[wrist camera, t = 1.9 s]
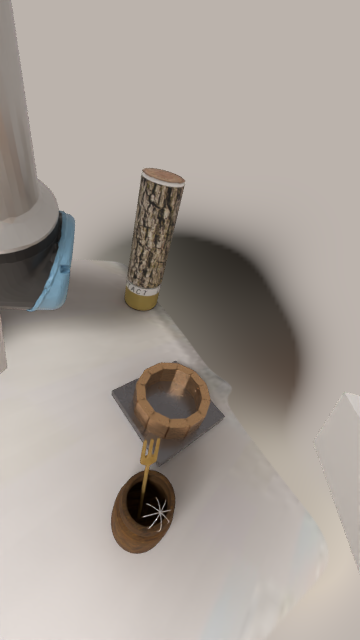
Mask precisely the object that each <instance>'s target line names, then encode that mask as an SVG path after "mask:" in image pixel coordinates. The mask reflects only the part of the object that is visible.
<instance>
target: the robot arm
mask: <svg viewBox="0 0 360 640" xmlns="http://www.w3.org/2000/svg"><path fill="white" fill-rule="evenodd" d="M74 231H75V220H74V218H73V217H72V216H71V215H70V214H66V213H65V212H64V211H59V209H58V204H57V201H56V198H55V196H54V194H53V193H52V191H51V190H50V189H49V188H48V187H47V186H46V185H45V184H44V183H43V182H41V181H40V180H39V179H37V174H36V166H35V159H34V152H33V146H32V139H31V132H30V125H29V118H28V112H27V105H26V98H25V91H24V85H23V78H22V71H21V64H20V58H19V51H18V45H17V37H16V30H15V24H14V17H13V10H12V3H11V0H0V309H18V310H27V311H35V310H55V309H58V308H60V307H61V306H62V305H63V304H64V302H65V300H66V297H67V291H68V285H69V277H70V267H71V260H72V253H73V243H74ZM6 368H7V361H6V354H5V346H4V338H3V331H2V323H1V316H0V374H1V373H2V372H3V371H4V370H5V369H6ZM313 444H314V446H315V449H316V452H317V455H318V458H319V461H320V463H321V466H322V469H323V472H324V475H325V478H326V480H327V483H328V486H329V489H330V492H331V494H332V497H333V500H334V503H335V506H336V508H337V511H338V514H339V517H340V520H341V523H342V525H343V528H344V531H345V533H346V537H347V539H348V542H349V545H350V548H351V551H352V554H353V556H354V559H355V562H356V564H357V567H358V570H359V573H360V395H356V394H351V393H347V392H344V393H343V394H342V396H341V397H340V399H339V401H338V402H337V404H336V406H335V407H334V409H333V410H332V412H331V414H330V415H329V417H328V418H327V420H326V422H325V423H324V425H323V427H322V428H321V430H320V431H319V433H318V435H317V436H316V438H315V439H314V441H313Z"/></svg>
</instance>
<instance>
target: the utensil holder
mask: <svg viewBox="0 0 360 640" xmlns="http://www.w3.org/2000/svg"><path fill="white" fill-rule="evenodd" d="M153 443H154V439H151V440H150V445H149V450H148V455H146V456H145V452H146V446H147V440H144V442H143V448H142V454H141V459H140V463H141V464H142V465H146V467H145V471H141V472H139V473H137V474H135V475H134V476H132V477H131V478H130V479H129V480H128V481H127V483H126V484H125V485H124V486H123V487H122V488H121V490H120V492H119V493H118V495H117V498H116V500H115V503H114V507H113V511H112V517H111V527H112V532H113V535H114V538H115V540H116V542H117V543H118V544H119V546H120V547H122V548H123V549H124V550H126V551H128V552H130V553H143V552H146V551H148V550H150V549H152V548H153V547H154V546H156V545H157V544H158V542H159V541H160V540H161V539H162V538H163V536H164V535H165V534H166V532H167V531H168V529H169V527H170V524H171V522H172V518H173V513H174V509H175V494H174V490H173V487H172V485H171V483H170V482H169V480H168V479H167V478H166V477H165V476H164V475H163V474H161V473H159V472H157V471H153V470H149V466H150V465H151V464H153V463H154V462H156V461H157V456H158V450H159V445H160V438H157V442H156V447H155V451H154V454H152V449H153Z"/></svg>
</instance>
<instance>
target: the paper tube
mask: <svg viewBox="0 0 360 640" xmlns="http://www.w3.org/2000/svg"><path fill="white" fill-rule="evenodd" d="M142 171H143V172H142V176H141V184H140V190H139V197H138V204H137V211H136V219H135V226H134V233H133V240H132V247H131V254H130V261H129V268H128V275H127V282H126V290H125V301H126V303H127V304H128V305H129V306H130V307H131V308H133V309H136V310H142V311H145V310H150V309H152V308H153V307H154V306H155V305H156V303H157V299H158V294H159V290H160V286H161V282H162V278H163V274H164V270H165V266H166V261H167V257H168V253H169V249H170V244H171V240H172V236H173V232H174V228H175V223H176V219H177V215H178V211H179V206H180V202H181V198H182V194H183V189H184V186H185V180H184V179H183V178H182V177H180V176H178V175H176V174H174V173H171V172H168V171H165V170H161V169H154V168H145V169H143V170H142Z"/></svg>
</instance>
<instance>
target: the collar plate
mask: <svg viewBox="0 0 360 640" xmlns="http://www.w3.org/2000/svg"><path fill="white" fill-rule="evenodd" d="M193 371H194V370H191V369H189V368H187V367H185V366H183V365H181V364H179V363H177V362H176V361H174V362H172V363H161V364H160V363H158V364H156V365H154V366H152V367H150V368H147V369H146V370H144V372H143V374H142V375H141V377H140V378H138V379H136V380H134V381H132V382H130V383H128V384H126V385H123V386H121V387H119V388H117V389H115V390H113V391H112V396H113V397H114V399H115V401H116V402H117V404H118V405H119V407H120V408H121V410H122V411H123V413H124V414H125V416H126V417H127V419H128V420H129V422H130V423H131V425H132V426H133V428H134V429H135V431H136V433H137V434H138V436H139V437H140V439H141V440H142V442H144V440H147V446H146V448H147V449H148V450H149V445H150V440H151V439H154V443H153V449H152V454H154V451H155V447H156V442H157V438H160V445H159V450H158V456H157V461H156V463H157V465H158V466H161V465H162V464H163V463H165V462H166V461H167V460H169V459H170V458H172V457H173V456H174V455H176V454H177V453H178V452H180V451H181V450H182V449H184V448H185V447H186V446H188V445H189V444H190V443H192V442H193V441H195V440H196V439H197V438H199V437H200V436H201V435H203V434H204V433H205V432H207V431H208V430H209V429H211V428H212V427H213V426H215V425H216V424H217V423H219V422H220V421H222V420H223V418H224V417H225V416H224V415H223V414H222V413H221V412H220V411H219V410H218V408H217V407H216V406H215V405H214V404H213V403H212V402H211V399H210V396H209V392H208V388H207V385H206V383H205V382H204V381H203V380H202V379H201V378H200V376H199V375H198V374H197V373H196V372H195V371H194V372H193Z"/></svg>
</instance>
